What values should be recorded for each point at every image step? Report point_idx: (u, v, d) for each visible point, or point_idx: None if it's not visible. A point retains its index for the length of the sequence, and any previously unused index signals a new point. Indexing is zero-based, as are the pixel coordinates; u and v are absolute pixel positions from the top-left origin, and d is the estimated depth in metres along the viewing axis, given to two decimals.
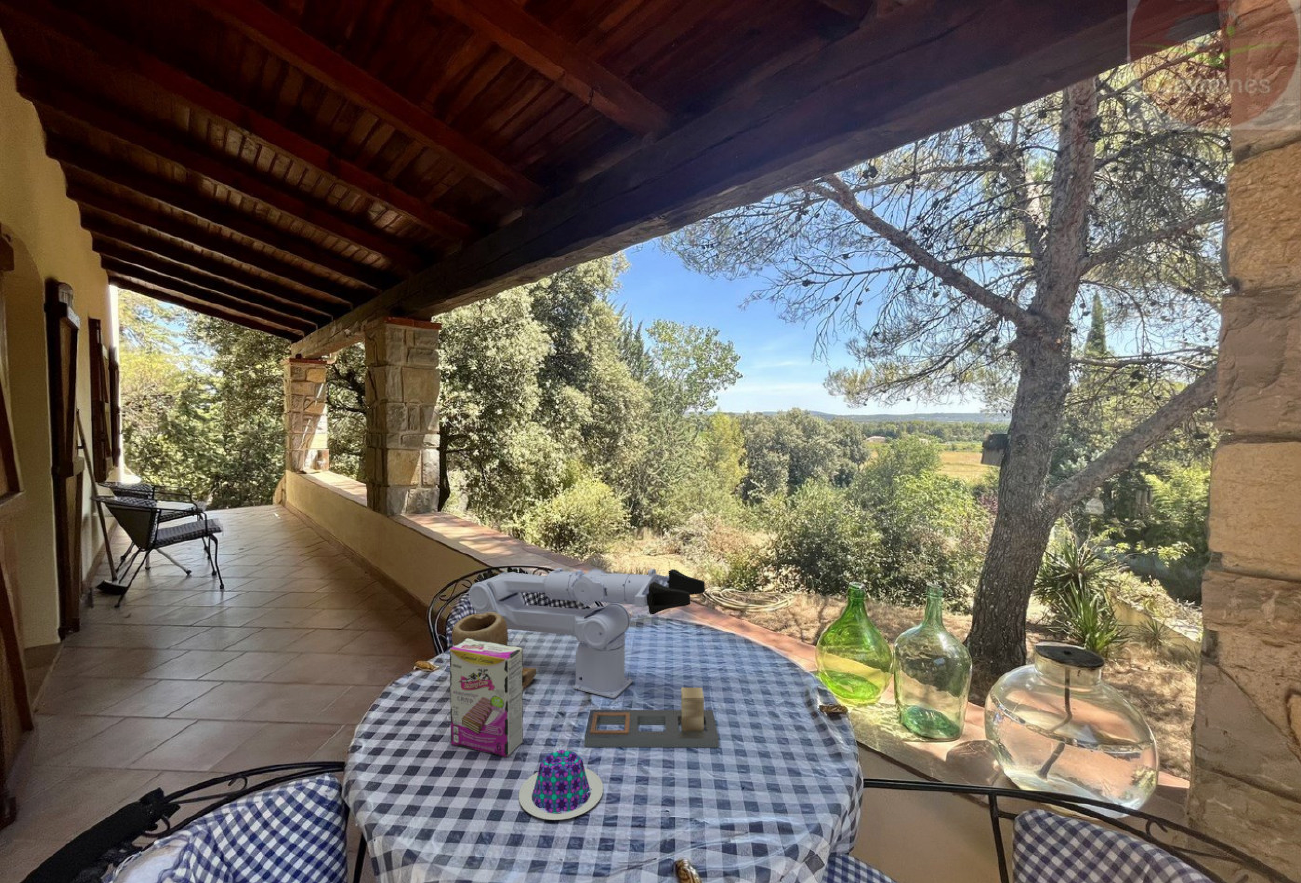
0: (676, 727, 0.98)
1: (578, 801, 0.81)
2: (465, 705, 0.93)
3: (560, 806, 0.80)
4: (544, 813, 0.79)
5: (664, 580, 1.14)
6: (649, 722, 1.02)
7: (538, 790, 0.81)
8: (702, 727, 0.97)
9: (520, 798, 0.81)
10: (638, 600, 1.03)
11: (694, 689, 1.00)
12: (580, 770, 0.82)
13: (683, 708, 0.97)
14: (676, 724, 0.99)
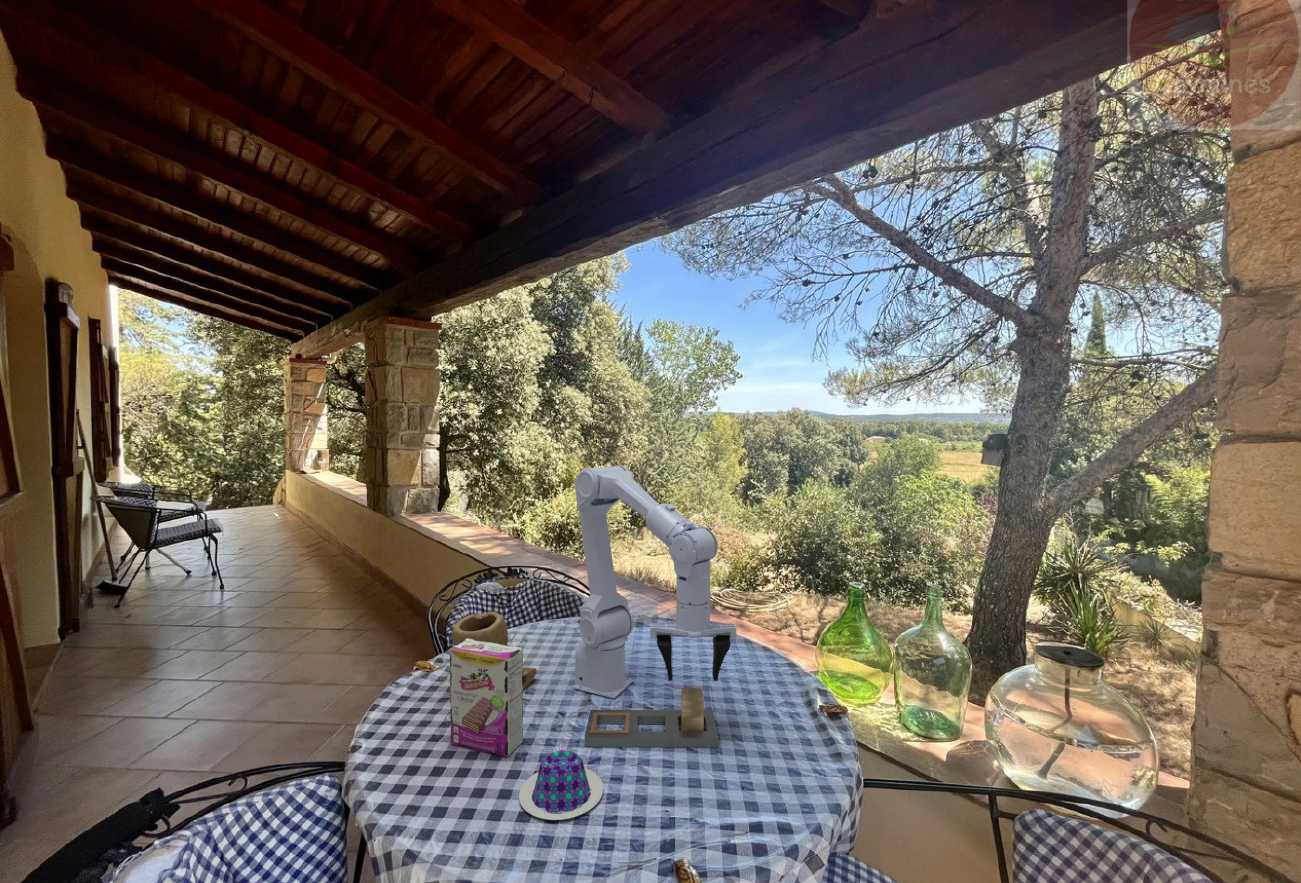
0: (676, 727, 0.98)
1: (578, 802, 0.81)
2: (465, 705, 0.93)
3: (559, 806, 0.80)
4: (543, 813, 0.79)
5: None
6: (649, 722, 1.02)
7: (538, 790, 0.81)
8: (702, 727, 0.97)
9: (520, 797, 0.82)
10: (650, 630, 0.98)
11: (694, 689, 1.00)
12: (580, 770, 0.82)
13: (683, 708, 0.97)
14: (676, 724, 0.99)
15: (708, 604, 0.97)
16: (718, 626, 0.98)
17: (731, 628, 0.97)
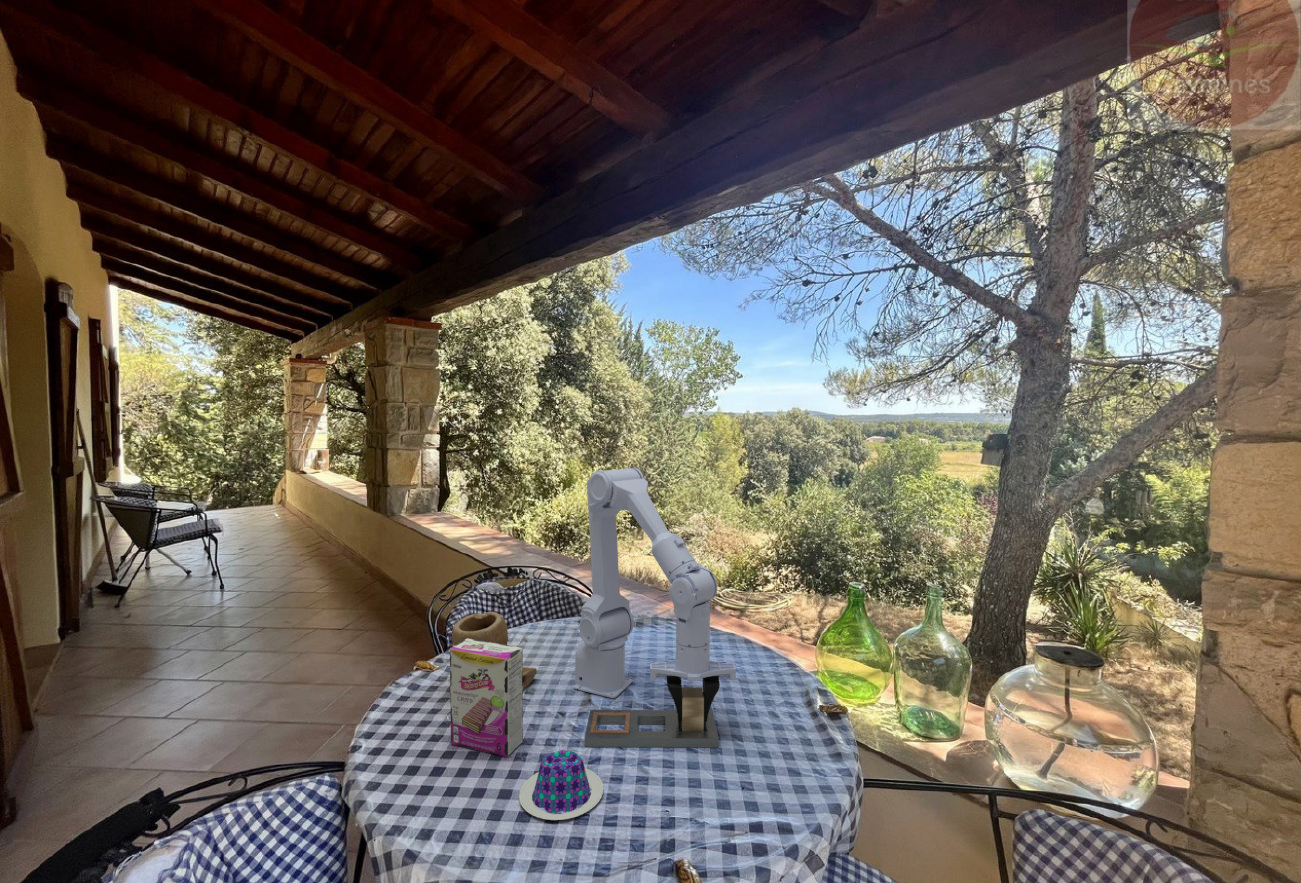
0: (676, 727, 0.98)
1: (577, 802, 0.81)
2: (465, 705, 0.93)
3: (559, 806, 0.80)
4: (543, 813, 0.79)
5: None
6: (649, 722, 1.02)
7: (538, 789, 0.81)
8: (702, 727, 0.97)
9: (520, 797, 0.82)
10: None
11: (694, 689, 1.00)
12: (580, 771, 0.82)
13: (683, 708, 0.97)
14: (676, 724, 0.99)
15: (708, 646, 0.97)
16: (718, 667, 0.98)
17: (730, 669, 0.98)
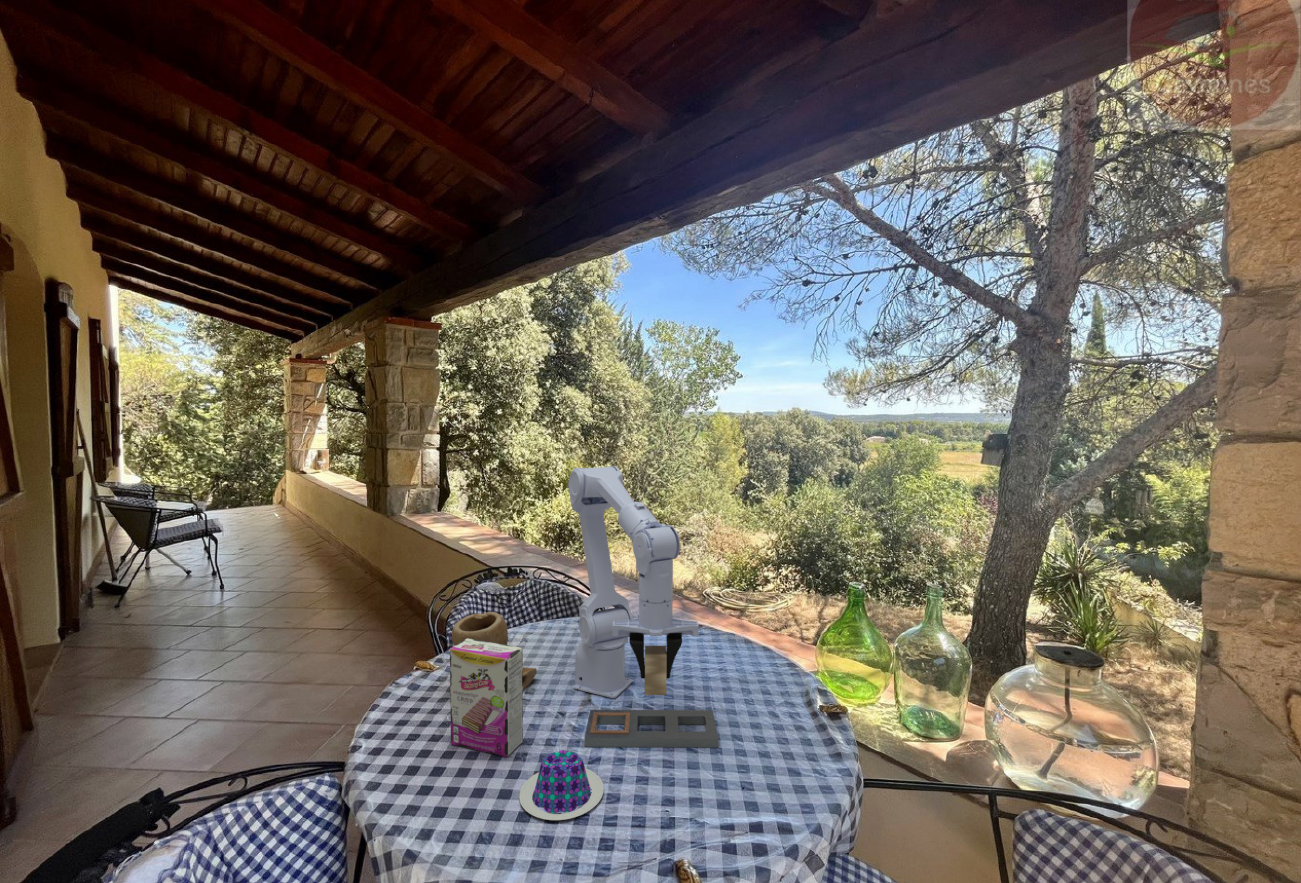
0: (676, 727, 0.98)
1: (577, 803, 0.81)
2: (465, 705, 0.93)
3: (558, 807, 0.79)
4: (542, 813, 0.79)
5: None
6: (649, 722, 1.02)
7: (538, 789, 0.81)
8: (665, 684, 0.97)
9: (520, 796, 0.82)
10: None
11: (658, 647, 1.00)
12: (580, 771, 0.82)
13: (646, 665, 0.97)
14: (676, 724, 0.99)
15: (670, 602, 0.97)
16: (681, 624, 0.98)
17: (693, 626, 0.97)
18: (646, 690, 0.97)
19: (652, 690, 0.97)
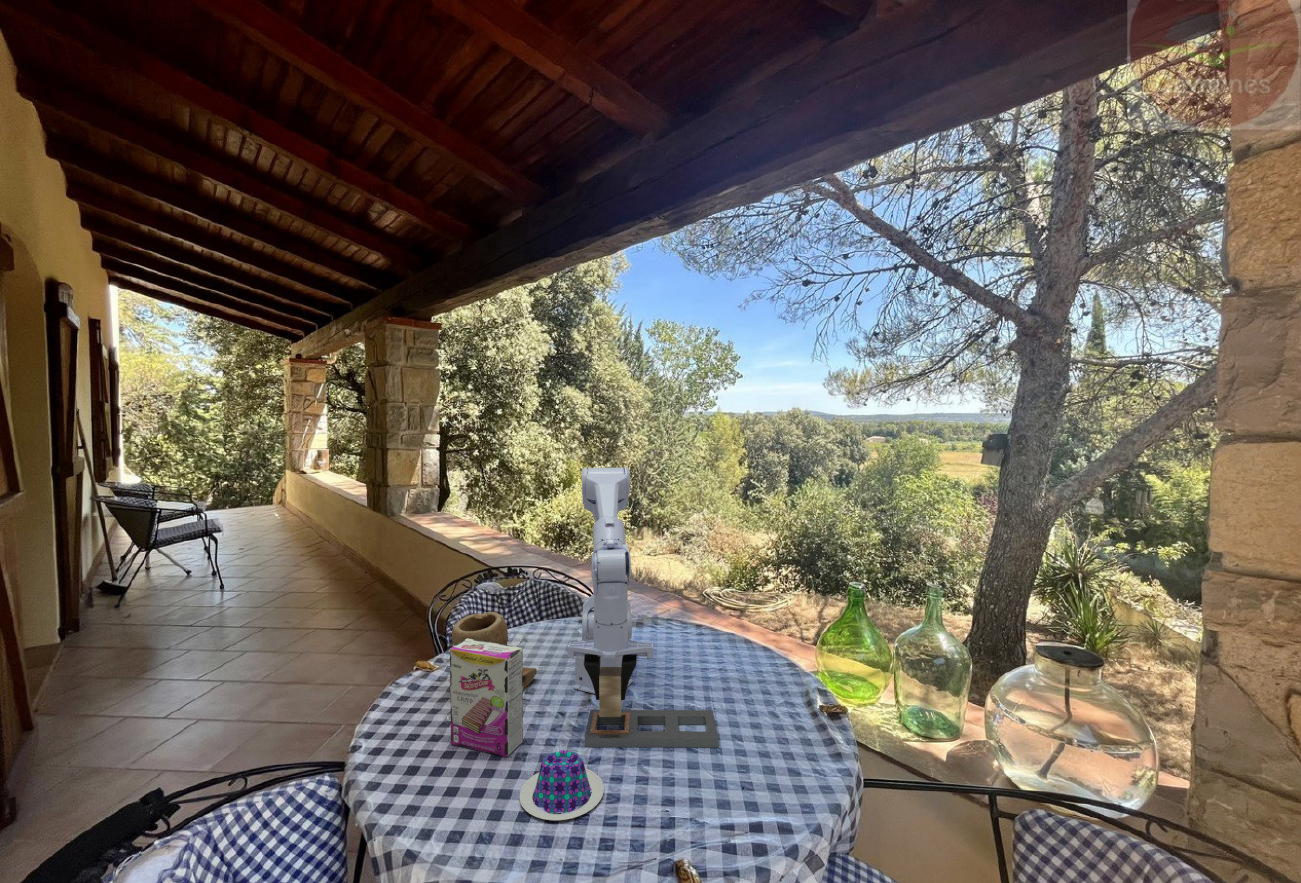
0: (676, 727, 0.98)
1: (576, 803, 0.80)
2: (465, 705, 0.93)
3: (558, 807, 0.79)
4: (541, 812, 0.79)
5: None
6: (649, 722, 1.02)
7: (538, 789, 0.81)
8: (619, 706, 0.97)
9: (521, 795, 0.82)
10: None
11: (613, 668, 1.00)
12: (580, 772, 0.82)
13: (600, 686, 0.97)
14: (676, 724, 0.99)
15: (624, 624, 0.97)
16: (636, 645, 0.98)
17: (648, 648, 0.97)
18: (600, 712, 0.97)
19: (606, 712, 0.97)
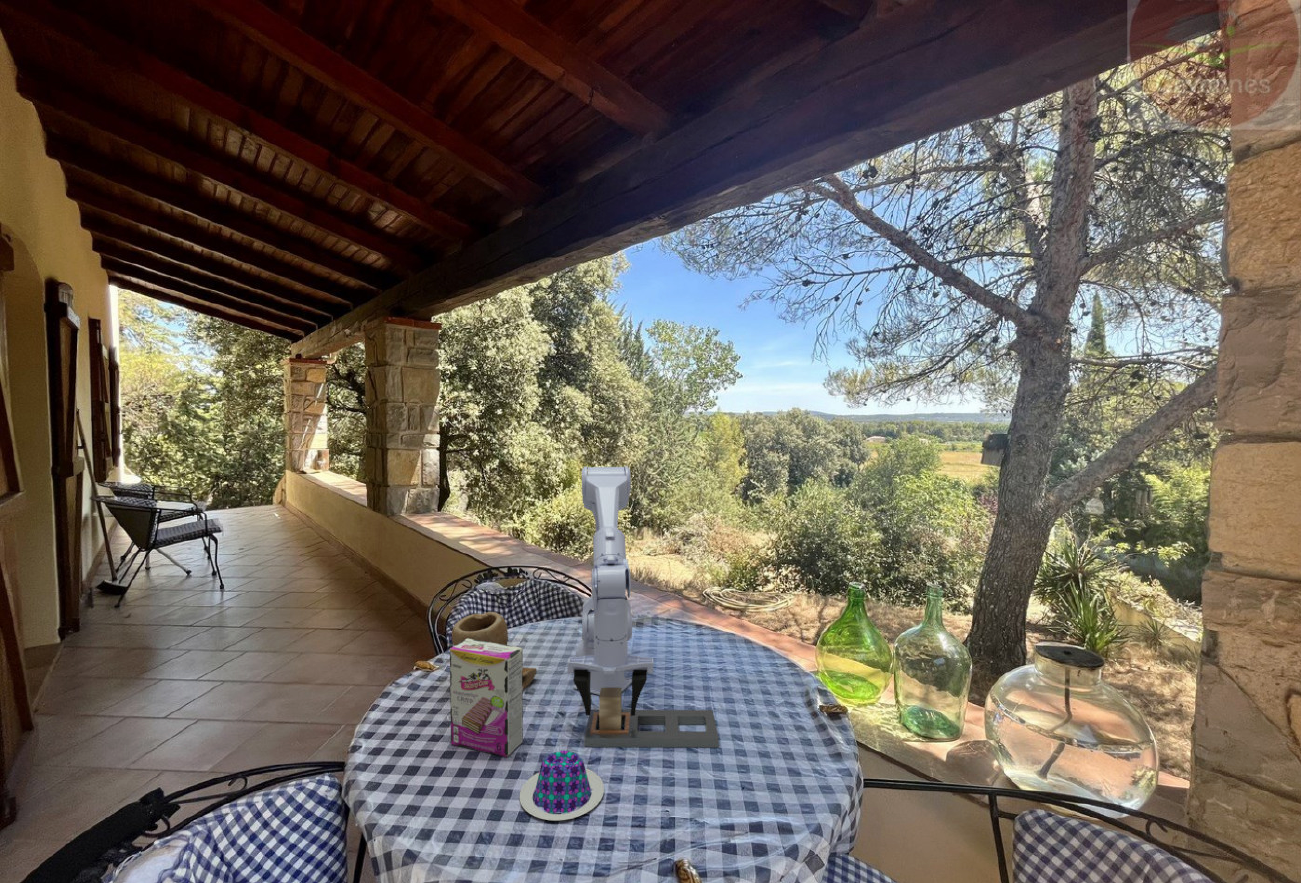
0: (676, 727, 0.98)
1: (576, 804, 0.80)
2: (465, 705, 0.93)
3: (557, 807, 0.79)
4: (541, 812, 0.79)
5: None
6: (649, 722, 1.02)
7: (538, 788, 0.81)
8: (619, 727, 0.97)
9: (521, 795, 0.82)
10: None
11: (613, 689, 1.00)
12: (580, 772, 0.81)
13: (600, 708, 0.97)
14: (676, 724, 0.99)
15: (624, 639, 0.97)
16: (636, 661, 0.98)
17: (648, 663, 0.98)
18: None
19: None
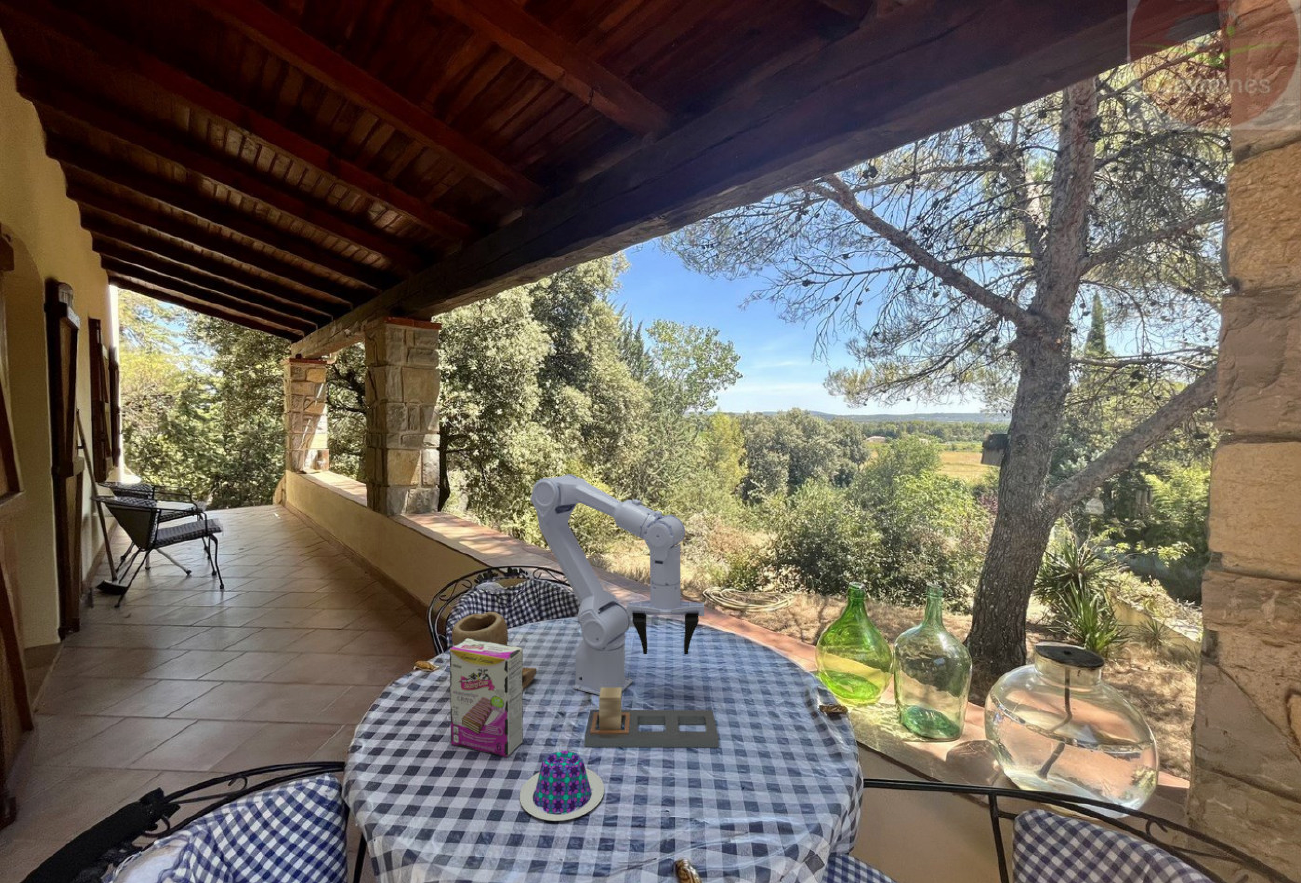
0: (676, 727, 0.98)
1: (575, 804, 0.80)
2: (465, 705, 0.93)
3: (556, 807, 0.79)
4: (540, 812, 0.79)
5: None
6: (649, 722, 1.02)
7: (537, 788, 0.81)
8: (619, 727, 0.97)
9: (521, 794, 0.82)
10: None
11: (613, 689, 1.00)
12: (580, 773, 0.81)
13: (600, 708, 0.97)
14: (676, 724, 0.99)
15: (678, 585, 1.07)
16: (688, 605, 1.08)
17: (699, 606, 1.08)
18: None
19: None
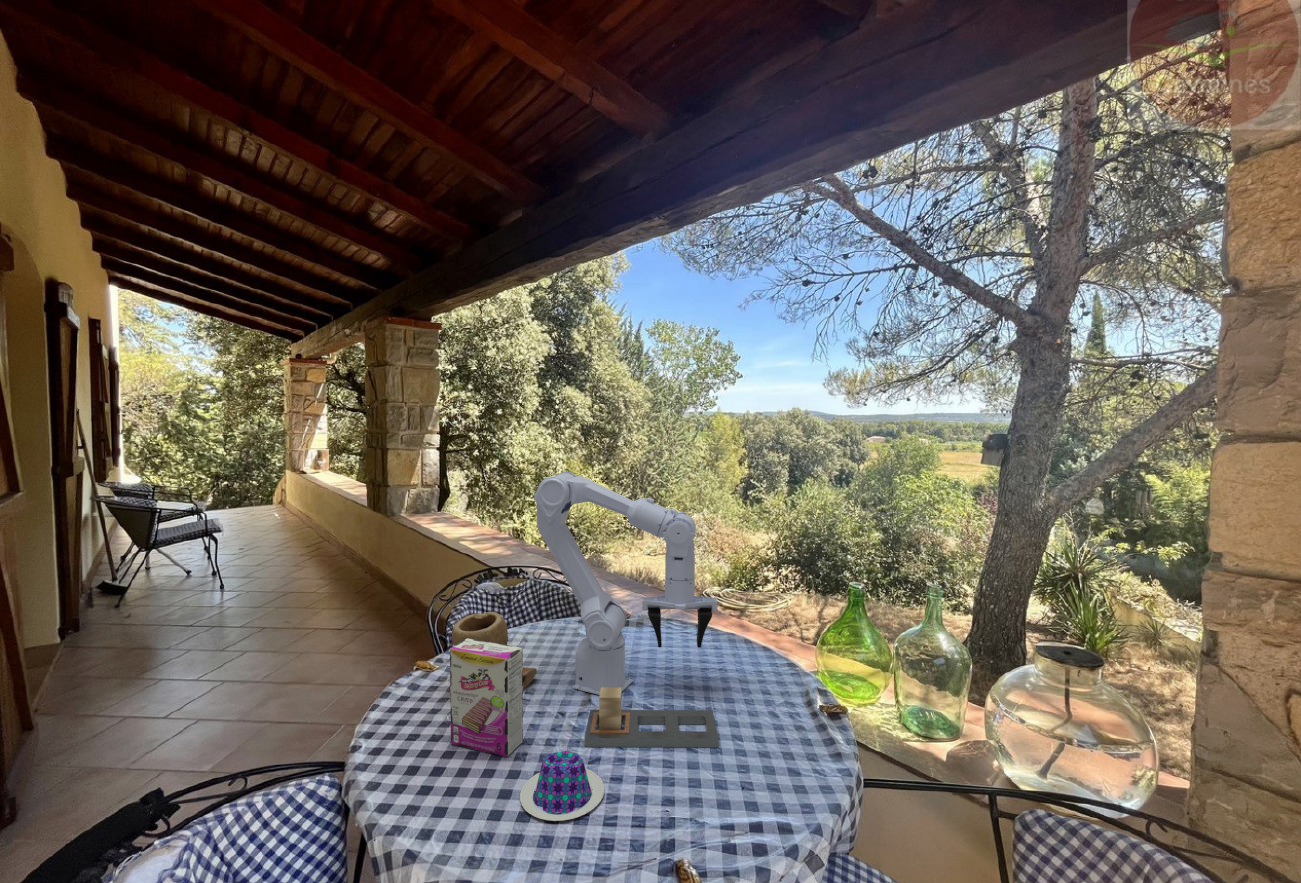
0: (676, 727, 0.98)
1: (575, 805, 0.80)
2: (465, 705, 0.93)
3: (556, 807, 0.79)
4: (540, 812, 0.79)
5: None
6: (649, 722, 1.02)
7: (537, 788, 0.81)
8: (619, 727, 0.97)
9: (521, 794, 0.82)
10: (642, 603, 1.12)
11: (613, 689, 1.00)
12: (579, 773, 0.81)
13: (600, 708, 0.97)
14: (676, 724, 0.99)
15: (693, 580, 1.11)
16: (701, 600, 1.12)
17: (713, 601, 1.11)
18: None
19: None
